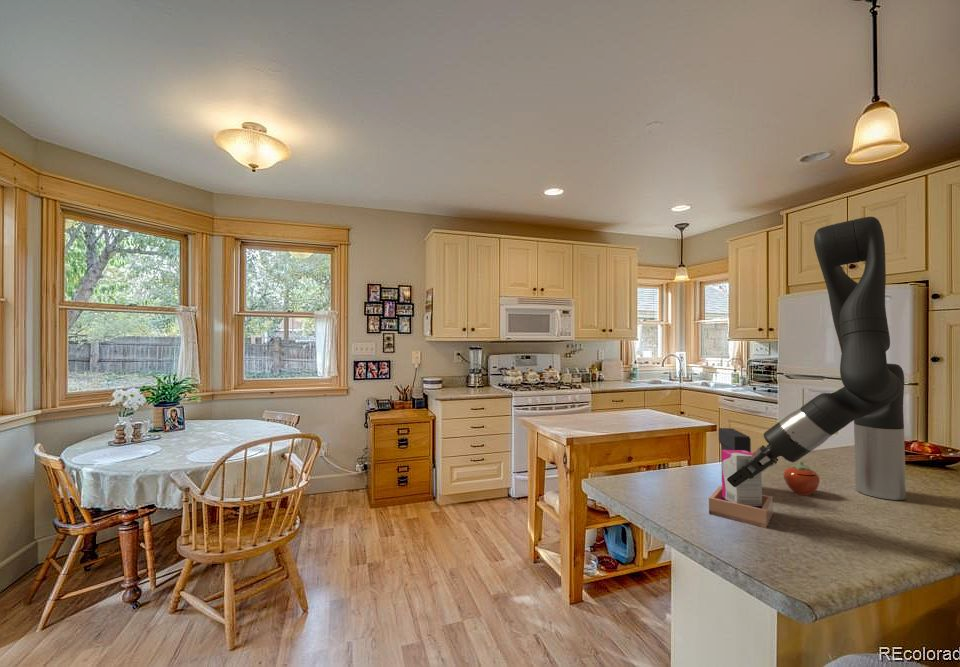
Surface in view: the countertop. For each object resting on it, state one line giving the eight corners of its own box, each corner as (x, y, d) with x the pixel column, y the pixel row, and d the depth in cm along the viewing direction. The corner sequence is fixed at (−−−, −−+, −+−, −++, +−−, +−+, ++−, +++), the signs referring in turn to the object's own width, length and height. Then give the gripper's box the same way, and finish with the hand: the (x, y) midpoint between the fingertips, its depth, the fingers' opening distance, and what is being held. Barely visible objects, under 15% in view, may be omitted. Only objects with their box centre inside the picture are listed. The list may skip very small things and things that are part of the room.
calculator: (754, 497, 102) (753, 436, 102) (735, 496, 103) (734, 436, 103) (736, 483, 113) (735, 428, 113) (719, 482, 113) (718, 427, 114)
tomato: (791, 496, 103) (790, 463, 103) (778, 486, 110) (778, 456, 110) (826, 499, 101) (825, 466, 101) (811, 488, 108) (810, 458, 108)
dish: (720, 500, 100) (719, 486, 100) (773, 512, 93) (772, 496, 93) (709, 513, 92) (708, 498, 92) (766, 527, 85) (766, 510, 85)
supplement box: (763, 508, 89) (762, 455, 90) (736, 508, 89) (735, 455, 90) (746, 499, 95) (745, 449, 96) (721, 499, 95) (719, 449, 96)
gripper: (784, 416, 93) (727, 458, 101) (776, 425, 83) (713, 471, 90) (815, 443, 90) (753, 485, 97) (810, 456, 79) (742, 502, 86)
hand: (734, 478), depth 93 cm, fingers closed on supplement box, 8 cm apart
